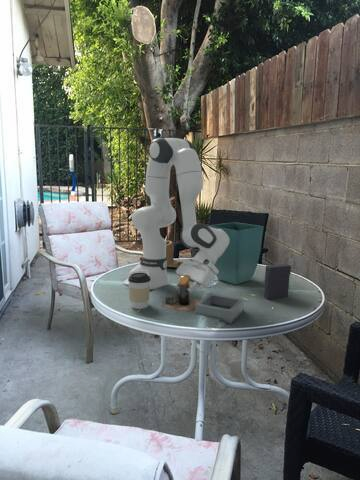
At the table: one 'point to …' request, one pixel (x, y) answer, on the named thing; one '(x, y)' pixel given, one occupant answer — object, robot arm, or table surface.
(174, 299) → the plate
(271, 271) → the grey box
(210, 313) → the bin
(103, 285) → the table surface
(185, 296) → the battery cell
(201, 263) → the robot arm
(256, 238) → the flower pot
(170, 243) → the wooden bookend
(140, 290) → the coffee cup
